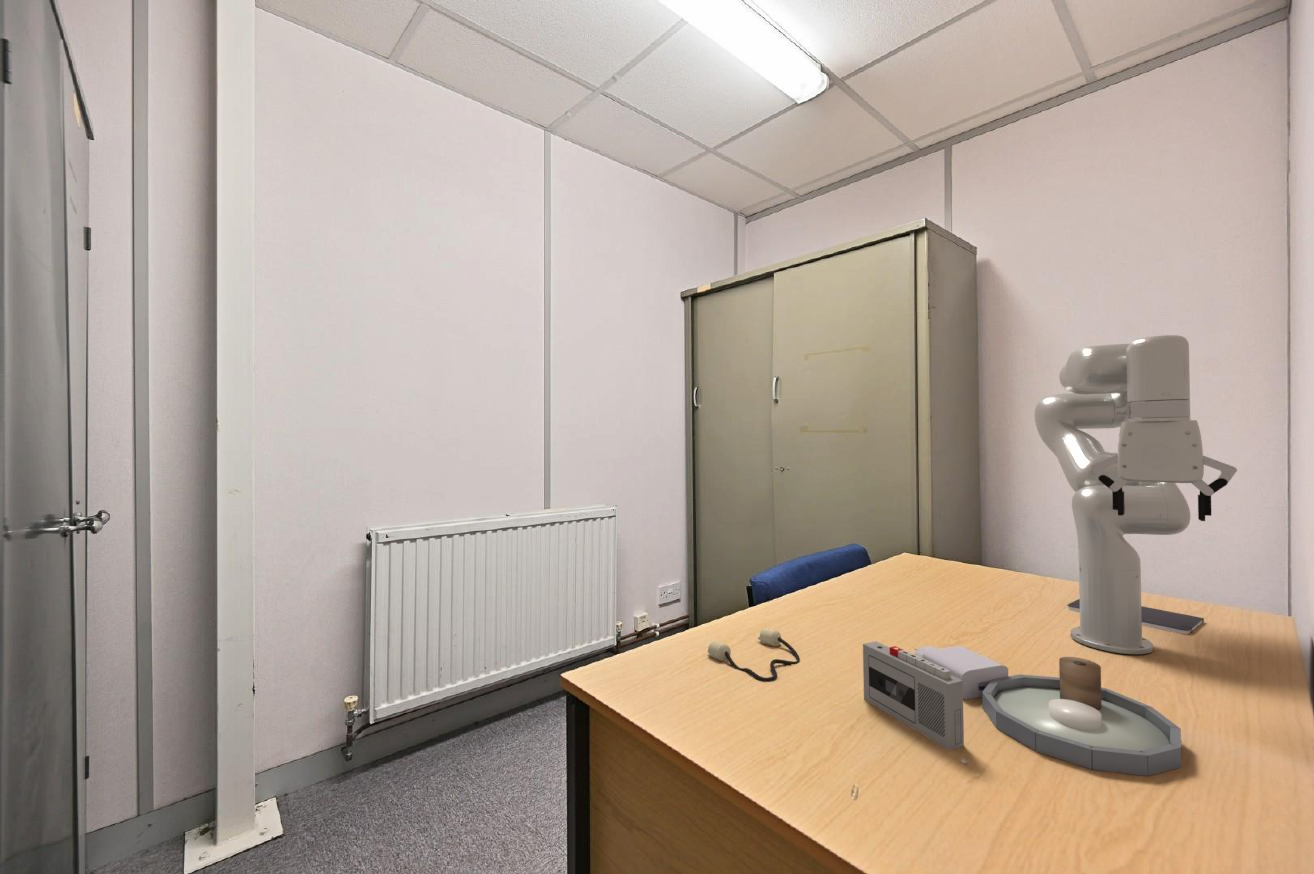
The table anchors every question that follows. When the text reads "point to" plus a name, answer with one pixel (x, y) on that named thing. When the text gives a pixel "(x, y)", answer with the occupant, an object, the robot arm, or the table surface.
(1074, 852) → the table surface
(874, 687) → the cassette player
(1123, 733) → the tray
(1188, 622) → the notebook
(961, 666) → the charger
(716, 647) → the cable
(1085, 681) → the bead
